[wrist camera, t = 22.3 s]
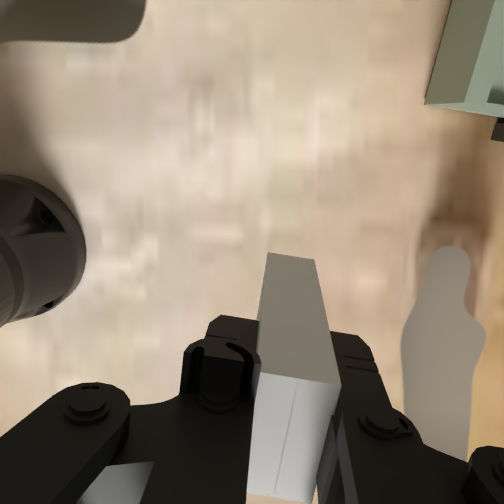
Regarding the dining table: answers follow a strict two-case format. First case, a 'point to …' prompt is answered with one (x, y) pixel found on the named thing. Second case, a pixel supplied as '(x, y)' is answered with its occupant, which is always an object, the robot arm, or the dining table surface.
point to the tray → (471, 59)
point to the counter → (498, 132)
